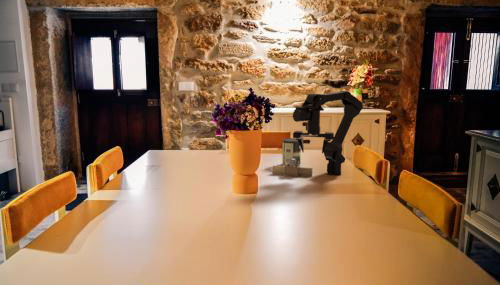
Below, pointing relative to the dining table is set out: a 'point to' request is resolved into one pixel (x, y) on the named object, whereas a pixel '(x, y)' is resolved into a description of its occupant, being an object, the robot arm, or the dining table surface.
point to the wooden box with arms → (292, 170)
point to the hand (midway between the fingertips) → (312, 152)
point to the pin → (292, 162)
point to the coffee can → (291, 151)
